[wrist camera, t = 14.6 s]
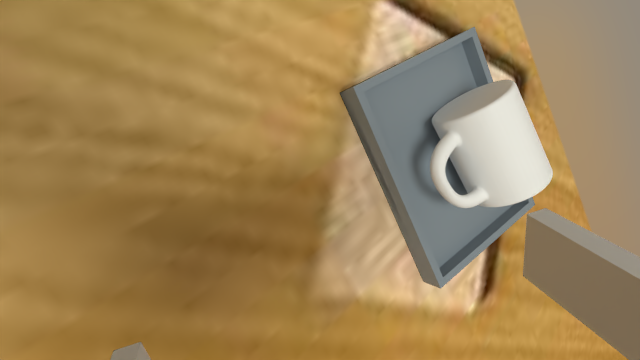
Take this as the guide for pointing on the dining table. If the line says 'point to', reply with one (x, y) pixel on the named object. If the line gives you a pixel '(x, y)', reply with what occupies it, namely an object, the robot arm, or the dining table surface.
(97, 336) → the dining table surface
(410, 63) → the tray
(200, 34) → the dining table surface
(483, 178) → the mug
